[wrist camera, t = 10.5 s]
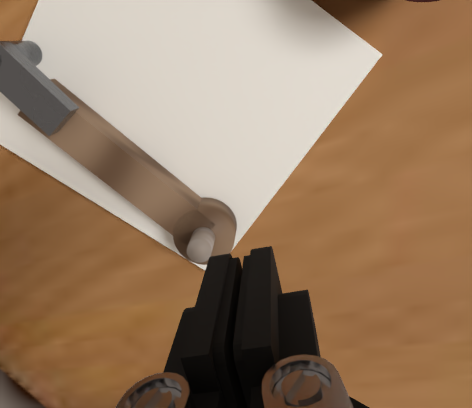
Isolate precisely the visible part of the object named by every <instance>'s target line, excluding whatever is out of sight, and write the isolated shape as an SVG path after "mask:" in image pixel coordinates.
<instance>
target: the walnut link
mask: <svg viewBox="0 0 472 408" xmlns="http://www.w3.org/2000/svg"><path fill="white" fill-rule="evenodd" d="M50 80H51V81H52V82H53V83H54V84H55V85H56V86H57V87H58V88H59V89H60V90H61V91H63V92H64V93H65V94H66V95H67V96H68V97H69V98H70V99H71V100H72V101H73V102H74V103H75V104H76V105H77V106H78V107H79V109H78V110H77V111H76V112H75V114H74V115H73V116H72V117H71V118H70V119H69V121H68V122H67V123H66V124H65V125H64V126H63V128H62V129H61V130H60V131H59V132H57V133H55V134H53V135H51V136H48V135H47V134H46V133H45V132H44V131H43V130H42V129H41V128H39V127H38V126H37V125H36V124H35V123H34V122H33V121H32V120H31V119H30V118H28V117H27V116H26V115H25V114H24V113H23V112H22V111H21V110H20V111H19V113H18V116H20V117H21V118H22V119H24V120H25V121H26V122H27V123H29V124H30V125H31V126H33V127H34V128H35V129H36V130H38V131H39V132H40V133H42V134H43V135H44V136H45V137H47V138H48V139H49V140H51V141H52V142H53V143H54V144H56V145H57V146H58V147H60V148H61V149H62V150H63V151H65V152H66V153H67V154H69V155H70V156H71V157H72V158H74V159H75V160H76V161H78V162H79V163H80V164H81V165H83V166H84V167H85V168H87V169H88V170H89V171H90V172H92V173H93V174H94V175H96V176H97V177H98V178H99V179H101V180H102V181H103V182H105V183H106V184H107V185H108V186H110V187H111V188H112V189H114V190H115V191H116V192H117V193H119V194H120V195H121V196H123V197H124V198H125V199H126V200H128V201H129V202H130V203H132V204H133V205H134V206H135V207H137V208H138V209H139V210H141V211H142V212H143V213H144V214H146V215H147V216H148V217H150V218H151V219H152V220H153V221H155V222H156V223H157V224H159V225H160V226H161V227H162V228H164V229H165V230H166V231H168V232H169V233H170V234H171V235H173V240H174V244H175V246H176V248H177V250H178V251H179V253H180V254H181V255H182V256H183V257H185V258H186V259H187V260H189V261H191V262H194V263H197V264H202V265H207V263H208V260H209V257H211V256H217V255H223V254H229V253H230V252H231V251H232V248H233V246H234V241H235V235H236V229H237V222H236V218H235V215H234V213H233V211H232V210H231V209H230V208H229V207H228V206H227V205H226V204H225V203H223V202H222V201H220V200H217V199H214V198H201V197H200V196H199V195H197V194H196V193H195V192H194V191H193V190H191V189H190V188H189V187H188V186H186V185H185V184H184V183H183V182H181V181H180V180H179V179H178V178H177V177H175V176H174V175H173V174H172V173H170V172H169V171H168V170H167V169H165V168H164V167H163V166H162V165H161V164H159V163H158V162H157V161H156V160H154V159H153V158H152V157H151V156H149V155H148V154H147V153H146V152H145V151H143V150H142V149H141V148H140V147H138V146H137V145H136V144H135V143H133V142H132V141H131V140H130V139H129V138H127V137H126V136H125V135H124V134H122V133H121V132H120V131H119V130H117V129H116V128H115V127H114V126H113V125H111V124H110V123H109V122H108V121H106V120H105V119H104V118H103V117H101V116H100V115H99V114H98V113H97V112H95V111H94V110H93V109H92V108H90V107H89V106H88V105H87V104H85V103H84V102H83V101H82V100H81V99H79V98H78V97H77V96H76V95H74V94H73V93H72V92H71V91H69V90H68V89H67V88H66V87H65V86H63V85H62V84H61V83H60V82H58V81H57V80H56V79H50Z"/></svg>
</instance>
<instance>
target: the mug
mask: <svg viewBox="0 0 472 408" xmlns="http://www.w3.org/2000/svg"><path fill="white" fill-rule="evenodd" d="M407 1H413V2H432V1H439V0H407Z"/></svg>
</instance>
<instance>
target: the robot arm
mask: <svg viewBox="0 0 472 408" xmlns="http://www.w3.org/2000/svg"><path fill="white" fill-rule="evenodd" d="M116 408H369V407H367V406H365V405H364V404H362V403H360V402H358V401H356V400H355V399H353V398H351V397H349V396H348V394H347V391H346V389H345V387H344V384H343V382H342V380H341V377H340V375H339V373H338V371H337V370H336V368H335V367H334V365H333V364H331V363H330V362H328V361H327V360H326V359H324V358H321V357H320V351H319V345H318V339H317V334H316V328H315V323H314V318H313V312H312V307H311V302H310V297H309V292H308V290H303V291H296V292H290V293H283V294H282V290H281V285H280V281H279V276H278V272H277V267H276V262H275V258H274V253H273V249H272V247H271V246H270V247H264V248H258V249H252V250H251V253H250V255H249V256H244V260H243V268H242V266H241V262H240V259H239V258H238V257H237V258H232V256H231V254H230V253H229V254H223V255H217V256H211V257H209V260H208V263H207V267H206V270H205V274H204V277H203V281H202V284H201V288H200V291H199V295H198V298H197V301H196V305H195V307H192V308H186V309H185V310H184V312H183V314H182V317H181V320H180V323H179V326H178V329H177V332H176V335H175V338H174V342H173V345H172V348H171V351H170V354H169V357H168V360H167V363H166V366H165V369H164V372H163V373H157V374H154V375H151V376H148V377H146V378H144V379H142V380H140V381H139V382H137V383H135V384H134V385H133V386H132V387H131V388H130V389H128V390H127V391H126V393H125V394H124V395H123V397H122V398H121V399H120V401H119V403H118V404H117V406H116Z"/></svg>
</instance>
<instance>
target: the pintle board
mask: <svg viewBox="0 0 472 408" xmlns="http://www.w3.org/2000/svg"><path fill="white" fill-rule="evenodd" d="M22 41H33V42H35V43H36V44H37V45H38V46H39V47H40V49H41V51H42V60H41V62H40V63H39V64H38V65H37V66H36V67H37V68H38V69H39V70H40V71H41V72H42V73H44V74H45V75H46V76H47V77H48V78H49V79H56V80H57V81H58V82H60V83H61V84H62V85H63V86H65V87H66V88H67V89H68V90H69V91H71V92H72V93H73V94H74V95H76V96H77V97H78V98H79V99H81V100H82V101H83V102H84V103H85V104H87V105H88V106H89V107H90V108H92V109H93V110H94V111H95V112H97V113H98V114H99V115H100V116H101V117H103V118H104V119H105V120H106V121H108V122H109V123H110V124H111V125H113V126H114V127H115V128H116V129H117V130H119V131H120V132H121V133H122V134H124V135H125V136H126V137H127V138H129V139H130V140H131V141H132V142H133V143H135V144H136V145H137V146H138V147H140V148H141V149H142V150H143V151H145V152H146V153H147V154H148V155H149V156H151V157H152V158H153V159H154V160H156V161H157V162H158V163H159V164H161V165H162V166H163V167H164V168H165V169H167V170H168V171H169V172H170V173H172V174H173V175H174V176H175V177H177V178H178V179H179V180H180V181H181V182H183V183H184V184H185V185H186V186H188V187H189V188H190V189H191V190H193V191H194V192H195V193H196V194H197V195H199V196H200V197H201V198H214V199H217V200H220V201H222V202H223V203H225V204H226V205H227V206H228V207H229V208H230V209H231V210H232V211H233V213H234V215H235V218H236V222H237V229H236V235H235V241H234V246H233V248H234V247H235V246H236V244H237V243H238V242H239V240H240V239H241V238H242V237H243V235H244V234H245V233H246V231H247V230H248V229H249V227H250V226H251V225H252V224H253V222H254V221H255V220H256V218H257V217H258V216H259V214H260V213H261V212H262V211H263V209H264V208H265V207H266V205H267V204H268V203H269V201H270V200H271V199H272V198H273V196H274V195H275V194H276V192H277V191H278V190H279V188H280V187H281V186H282V185H283V183H284V182H285V181H286V179H287V178H288V177H289V175H290V174H291V173H292V172H293V170H294V169H295V168H296V166H297V165H298V164H299V162H300V161H301V160H302V159H303V157H304V156H305V155H306V153H307V152H308V151H309V149H310V148H311V147H312V146H313V144H314V143H315V142H316V140H317V139H318V138H319V136H320V135H321V134H322V133H323V131H324V130H325V129H326V127H327V126H328V125H329V123H330V122H331V121H332V120H333V118H334V117H335V116H336V114H337V113H338V112H339V110H340V109H341V108H342V107H343V105H344V104H345V103H346V101H347V100H348V99H349V97H350V96H351V95H352V94H353V92H354V91H355V90H356V88H357V87H358V86H359V84H360V83H361V82H362V80H363V79H364V78H365V77H366V75H367V74H368V73H369V71H370V70H371V69H372V67H373V66H374V65H375V64H376V62H377V61H378V60H379V58H380V57H381V56H382V54H381V53H380V52H379V51H377V50H376V49H375V48H373V47H372V46H371V45H369V44H368V43H367V42H365V41H364V40H363V39H361V38H360V37H359V36H358V35H356V34H355V33H354V32H352V31H351V30H350V29H348V28H347V27H346V26H344V25H343V24H342V23H340V22H339V21H338V20H337V19H335V18H334V17H333V16H331V15H330V14H329V13H327V12H326V11H325V10H323V9H322V8H321V7H319V6H318V5H317V4H316V3H314V2H313V1H312V0H39V1H38V3H37V6H36V8H35V11H34V13H33V15H32V18H31V20H30V22H29V25H28V27H27V29H26V32H25V34H24V36H23V39H22ZM19 111H20V109H19V108H17V107H16V106H15V105H14V104H13V103H12V102H11V101H10V100H9V99H8V98H6V97H5V96H4V95H3V94H2V93H1V92H0V145H2V146H4V147H5V148H7V149H9V150H10V151H12V152H13V153H15V154H17V155H18V156H20V157H21V158H23V159H25V160H26V161H28V162H30V163H31V164H33V165H34V166H36V167H38V168H39V169H41V170H43V171H44V172H46V173H47V174H49V175H51V176H52V177H54V178H56V179H57V180H59V181H60V182H62V183H64V184H65V185H67V186H69V187H70V188H72V189H73V190H75V191H77V192H78V193H80V194H82V195H83V196H85V197H86V198H88V199H90V200H91V201H93V202H95V203H96V204H98V205H99V206H101V207H103V208H104V209H106V210H108V211H109V212H111V213H112V214H114V215H116V216H117V217H119V218H121V219H122V220H124V221H125V222H127V223H129V224H130V225H132V226H134V227H135V228H137V229H138V230H140V231H142V232H143V233H145V234H147V235H148V236H150V237H151V238H153V239H155V240H156V241H158V242H160V243H161V244H163V245H164V246H166V247H168V248H169V249H171V250H173V251H174V252H176V253H177V254H179V255H181V254H180V253H179V251H178V250H177V248H176V246H175V244H174V240H173V235H171V234H170V233H169V232H168V231H166V230H165V229H164V228H162V227H161V226H160V225H159V224H157V223H156V222H155V221H153V220H152V219H151V218H150V217H148V216H147V215H146V214H144V213H143V212H142V211H141V210H139V209H138V208H137V207H135V206H134V205H133V204H132V203H130V202H129V201H128V200H126V199H125V198H124V197H123V196H121V195H120V194H119V193H117V192H116V191H115V190H114V189H112V188H111V187H110V186H108V185H107V184H106V183H105V182H103V181H102V180H101V179H99V178H98V177H97V176H96V175H94V174H93V173H92V172H90V171H89V170H88V169H87V168H85V167H84V166H83V165H81V164H80V163H79V162H78V161H76V160H75V159H74V158H72V157H71V156H70V155H69V154H67V153H66V152H65V151H63V150H62V149H61V148H60V147H58V146H57V145H56V144H54V143H53V142H52V141H51V140H49V139H48V138H47V137H45V136H44V135H43V134H42V133H40V132H39V131H38V130H36V129H35V128H34V127H33V126H31V125H30V124H29V123H27V122H26V121H25V120H24V119H22V118H21V117H20V116H18V113H19ZM233 248H232V250H233ZM181 256H182V255H181ZM182 257H183V256H182ZM184 258H185V257H184ZM190 262H191V261H190ZM192 263H194V262H192ZM194 264H195V265H197V266H199V267H200V268H202V269H203V270H206V267H207V265H202V264H197V263H194Z"/></svg>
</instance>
